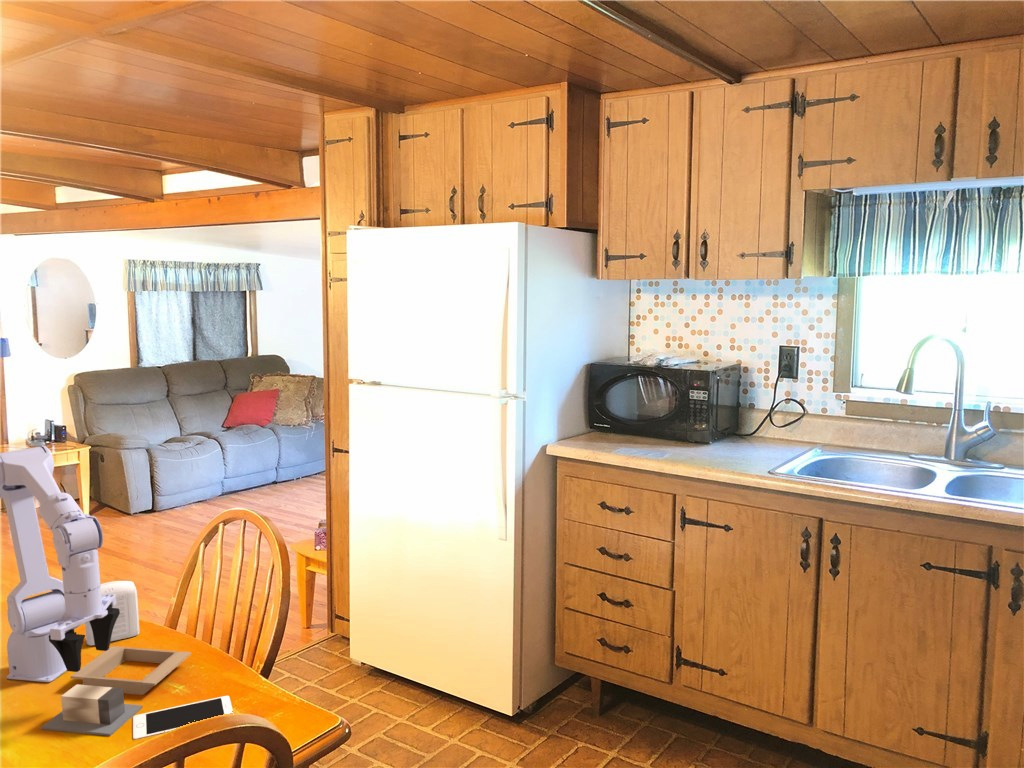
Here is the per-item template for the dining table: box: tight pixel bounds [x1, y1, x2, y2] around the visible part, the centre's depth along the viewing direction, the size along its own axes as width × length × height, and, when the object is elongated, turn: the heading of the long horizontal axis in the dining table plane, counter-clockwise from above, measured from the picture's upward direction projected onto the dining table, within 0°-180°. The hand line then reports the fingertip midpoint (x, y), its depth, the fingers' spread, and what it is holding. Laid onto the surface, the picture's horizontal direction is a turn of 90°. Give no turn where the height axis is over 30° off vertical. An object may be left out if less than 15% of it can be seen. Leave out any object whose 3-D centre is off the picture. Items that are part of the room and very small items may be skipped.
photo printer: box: [84, 580, 140, 646], centre depth 173 cm, size 10×4×12 cm, turn 123°
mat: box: [40, 703, 143, 737], centre depth 143 cm, size 13×9×1 cm
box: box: [60, 683, 125, 725], centre depth 143 cm, size 9×4×4 cm, turn 81°
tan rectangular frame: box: [70, 645, 192, 696], centre depth 158 cm, size 17×12×2 cm
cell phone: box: [132, 695, 234, 741], centre depth 144 cm, size 8×16×1 cm, turn 115°
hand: (88, 659), depth 145 cm, fingers open, 7 cm apart
